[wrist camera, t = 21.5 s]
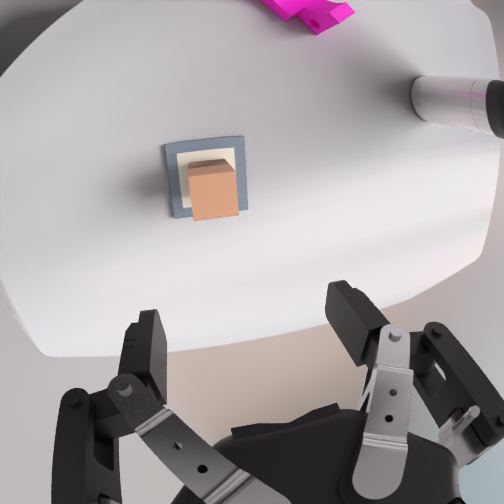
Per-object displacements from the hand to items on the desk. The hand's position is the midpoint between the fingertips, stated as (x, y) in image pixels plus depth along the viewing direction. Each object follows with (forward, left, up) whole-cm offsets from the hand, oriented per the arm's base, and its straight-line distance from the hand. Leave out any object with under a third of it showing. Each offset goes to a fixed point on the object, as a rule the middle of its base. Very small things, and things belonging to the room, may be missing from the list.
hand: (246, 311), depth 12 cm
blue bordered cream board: (0, 0, -30) cm, 30 cm away
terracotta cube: (0, 0, -24) cm, 24 cm away
